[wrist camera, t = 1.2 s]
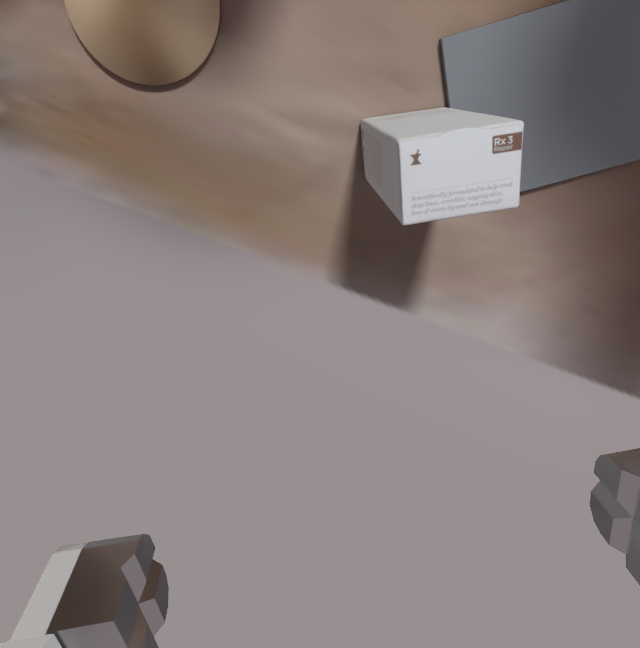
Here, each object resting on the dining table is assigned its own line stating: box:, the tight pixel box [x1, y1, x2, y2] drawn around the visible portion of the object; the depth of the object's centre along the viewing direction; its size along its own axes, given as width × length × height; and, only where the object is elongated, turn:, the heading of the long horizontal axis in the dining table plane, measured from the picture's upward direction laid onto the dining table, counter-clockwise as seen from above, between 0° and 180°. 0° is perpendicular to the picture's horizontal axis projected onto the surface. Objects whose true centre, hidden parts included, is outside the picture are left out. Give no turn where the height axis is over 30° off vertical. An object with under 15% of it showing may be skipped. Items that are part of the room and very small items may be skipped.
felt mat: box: [440, 0, 640, 192], centre depth 32 cm, size 13×11×1 cm
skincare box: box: [361, 107, 524, 225], centre depth 28 cm, size 6×4×12 cm
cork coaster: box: [64, 0, 220, 86], centre depth 28 cm, size 9×9×1 cm
